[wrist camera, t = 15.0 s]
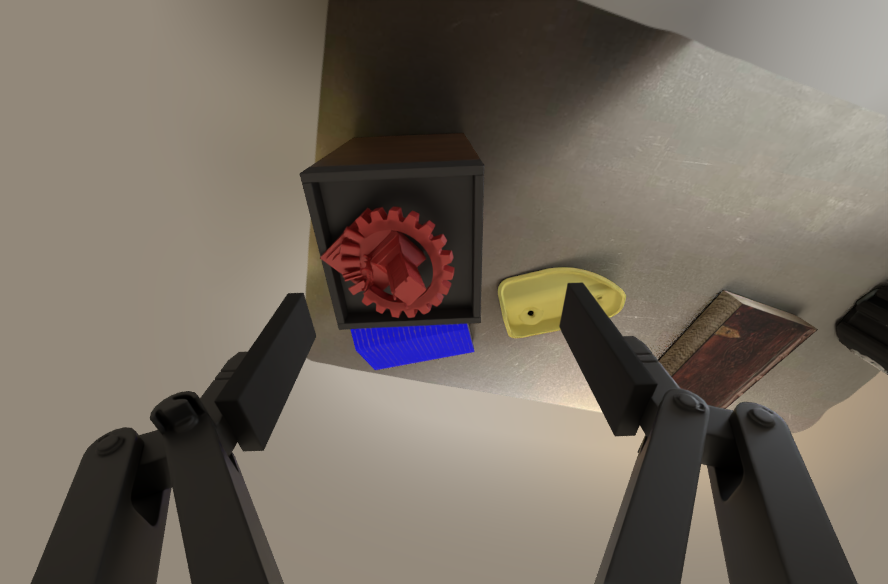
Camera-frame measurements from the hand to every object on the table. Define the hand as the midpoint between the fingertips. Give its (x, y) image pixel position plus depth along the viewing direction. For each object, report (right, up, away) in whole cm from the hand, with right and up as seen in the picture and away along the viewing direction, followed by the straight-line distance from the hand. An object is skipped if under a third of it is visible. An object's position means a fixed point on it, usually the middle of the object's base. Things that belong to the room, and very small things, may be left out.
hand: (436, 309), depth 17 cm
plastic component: (+20, 0, +46) cm, 50 cm away
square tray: (-4, +6, +18) cm, 19 cm away
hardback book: (+56, -13, +55) cm, 79 cm away
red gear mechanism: (-6, +5, +17) cm, 18 cm away
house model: (-6, -4, +47) cm, 47 cm away
